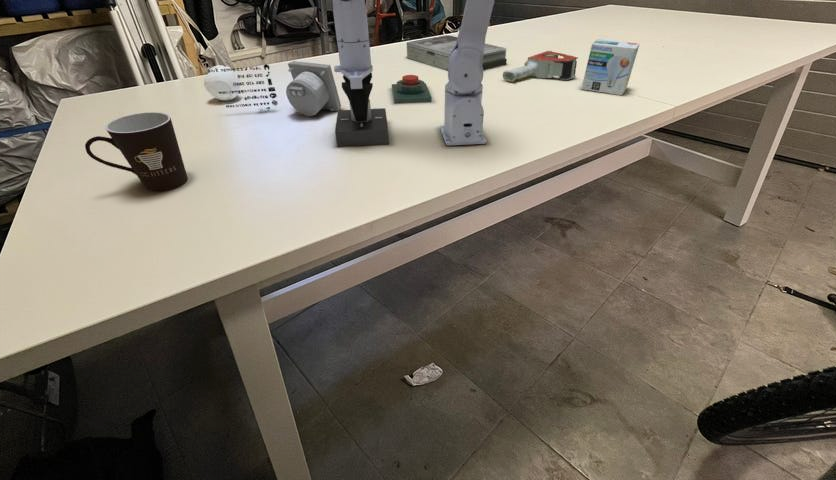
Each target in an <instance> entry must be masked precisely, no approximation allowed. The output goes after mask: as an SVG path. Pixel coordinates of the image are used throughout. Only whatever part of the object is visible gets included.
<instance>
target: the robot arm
mask: <svg viewBox="0 0 836 480" xmlns="http://www.w3.org/2000/svg"><path fill="white" fill-rule="evenodd" d="M331 1H332V8H333V9H332V14H333V19H334V20H333V22H334V29H335V36H336V37H335V38H336V43H337V51H338V59H339V65H334V67H333V71H334V73H340V74H342V79H343V80H344V81H342V82H341V89H342V91H343V92H344V94H345V95H346V97H347V100H348V102H349V105H350V104H351V107H352V111H353V114H354V117H355V120H356V121H367V115H368V101H369V100H370V96H371V92H372V90H373V86H374V85H373V82H372V79H373V73H372V72H373V71H374V69H373V65H372V59H371V58H372V56H371V45H370V35H369V23H368V22H369V21H368V11H367V7H366V0H331ZM494 4H495V0H466V1H465V4H464V10H463V14H462V18H461V24H460V29H459V31H458V34H457V37H458V38H457V42H456V45H455V47H454V49H453V50H452V51H451V53H450V55H449V57H448V69H449V70H447V80H448V82H447V83H446V84H445V85H444V113H443V114H444V115H443V117H444V118H443V125H440V126H439V130H440V132H441V136H442V138H443V140H444V143H445V145H446V146H465V145H484V144H487V139H486V138H485V136H484V134H483V128H484V117H485V111H484V110H485V109H484V106H483V105H482V103H483V90H484V86H483V83H482V82H483V79H484V70H483V67H482V58H483V54H484V47H485V44H486V37H487V33H488V29H489V24H490V22H491V21H490V20H491V16H492V13H493V9H494Z"/></svg>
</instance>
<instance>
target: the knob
mask: <svg viewBox="0 0 836 480" xmlns="http://www.w3.org/2000/svg"><path fill="white" fill-rule="evenodd" d="M371 109H372V106H371V100H370V99H369V101H368V115H367V121H370V120H371V119H372V117H371ZM349 110H351V118H352V121H354V122H367V121H356V120H355V117H354V114H353V111H352V107H351V104H350V103H349Z"/></svg>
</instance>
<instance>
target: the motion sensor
mask: <svg viewBox="0 0 836 480" xmlns="http://www.w3.org/2000/svg"><path fill="white" fill-rule="evenodd" d="M215 68H217V69H218V70H217V71H218V72H217V71H216V69H215ZM214 69H215V72H214ZM221 69H223V71H224V69H230V70H229V71H228V70H225V71H226V72H223V71H222V70H221ZM231 69H232V67H230V66H228V65H226V66H224V65H223V64H219V65H218V64H217V65H214V66H212V67H210V68H209V69H208V70H210V73H209V72H207V74H206V76H205V78H204V81H203V83H204V84H203V85H204V88H205V90H206V91H207V92H208V94H209V95H210V96H211V97H213V98H214V99H217V100H219V101H231V100H233V99H235V98H236V97H237V96H238V95H239V92H238V93H236V92H237V91H239V90H240V91H241V84H240V85H239V86H237V83H240V78H238V75H239V74H237V72H236V71H233V70H232V71H231ZM211 70H213V71H212V72H211ZM221 71H222V72H221ZM236 82H237V83H236ZM233 83H236V86H234V85H235V84H234V85H233ZM225 91H227V94H226V92H225ZM230 91H231V93H230ZM232 91H233V92H234V91H236V92H234V93H232ZM218 92H223V93H224V92H225V94H223V93H221V94H220V93H218ZM229 93H230V94H229Z"/></svg>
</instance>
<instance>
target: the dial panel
mask: <svg viewBox="0 0 836 480" xmlns="http://www.w3.org/2000/svg"><path fill="white" fill-rule="evenodd" d="M371 117H372V119H371V120H370V121H367V122H354V121H352V118H351V110H350V109H340V110H338V111H337V115H336V120H335V121H336V122H335V127H334V128H335V129H334V133H335V134H334V135H335V141H336V147H337V148H339V147H341V148H342V147H361V146H382V145H390V139H389V127H388V119H387V111H386V108H385V107H383V108H371Z"/></svg>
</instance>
